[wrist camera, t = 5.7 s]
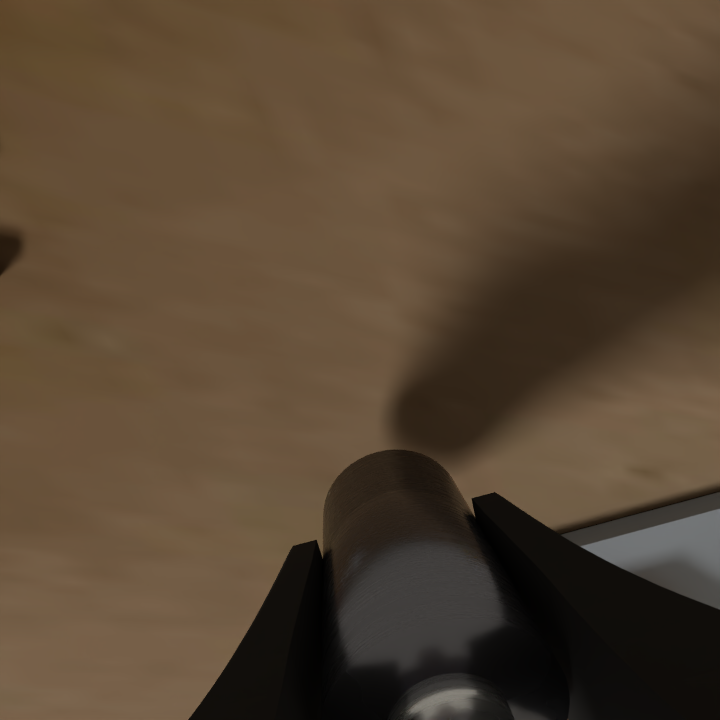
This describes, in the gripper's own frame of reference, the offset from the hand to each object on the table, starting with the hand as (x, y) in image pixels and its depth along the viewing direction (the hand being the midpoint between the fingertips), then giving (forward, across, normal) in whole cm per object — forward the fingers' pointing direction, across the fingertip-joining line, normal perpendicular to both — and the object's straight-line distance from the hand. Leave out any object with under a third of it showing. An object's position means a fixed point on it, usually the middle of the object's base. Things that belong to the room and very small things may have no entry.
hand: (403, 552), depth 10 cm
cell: (+2, 0, 0) cm, 2 cm away
